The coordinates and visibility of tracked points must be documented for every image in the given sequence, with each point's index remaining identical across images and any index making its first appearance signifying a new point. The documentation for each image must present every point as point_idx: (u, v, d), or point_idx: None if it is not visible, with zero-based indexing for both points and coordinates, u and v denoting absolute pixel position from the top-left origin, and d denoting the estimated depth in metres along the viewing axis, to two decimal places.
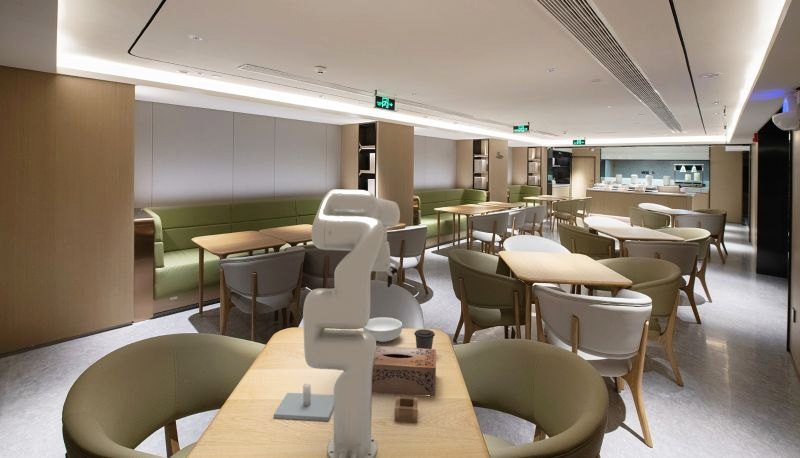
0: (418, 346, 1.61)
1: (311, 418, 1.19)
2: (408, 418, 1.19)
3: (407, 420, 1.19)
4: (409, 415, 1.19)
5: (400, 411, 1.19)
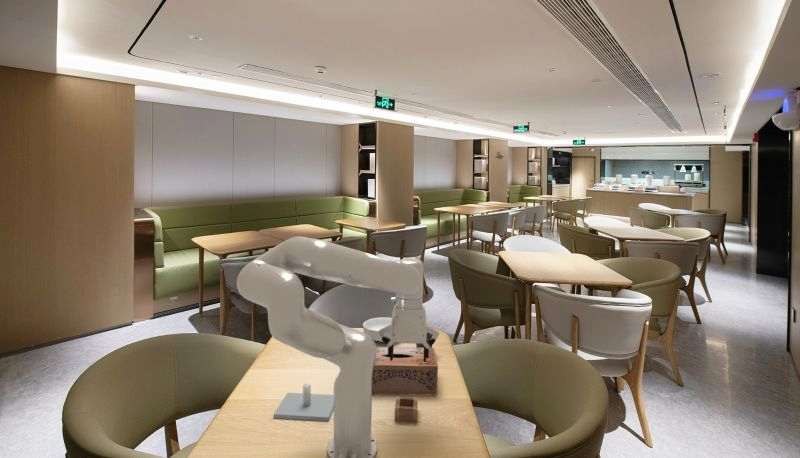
0: (418, 346, 1.61)
1: (311, 418, 1.19)
2: (408, 418, 1.19)
3: (407, 420, 1.19)
4: (409, 415, 1.19)
5: (400, 411, 1.19)
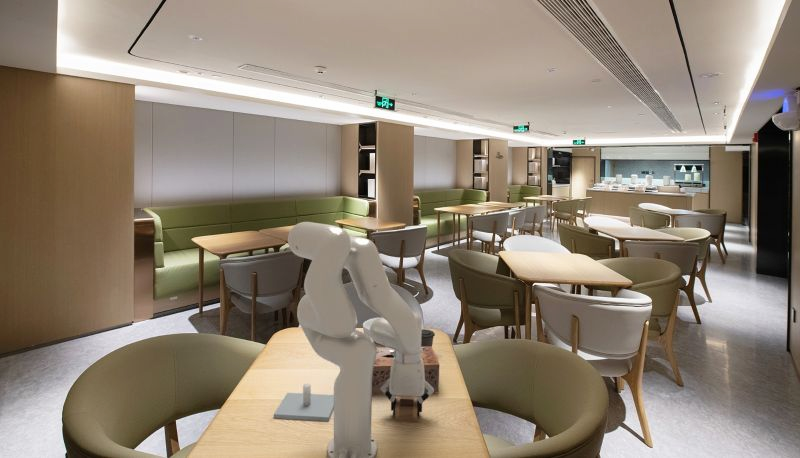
0: None
1: (311, 418, 1.19)
2: (408, 418, 1.19)
3: (407, 420, 1.19)
4: (409, 415, 1.19)
5: (400, 411, 1.19)
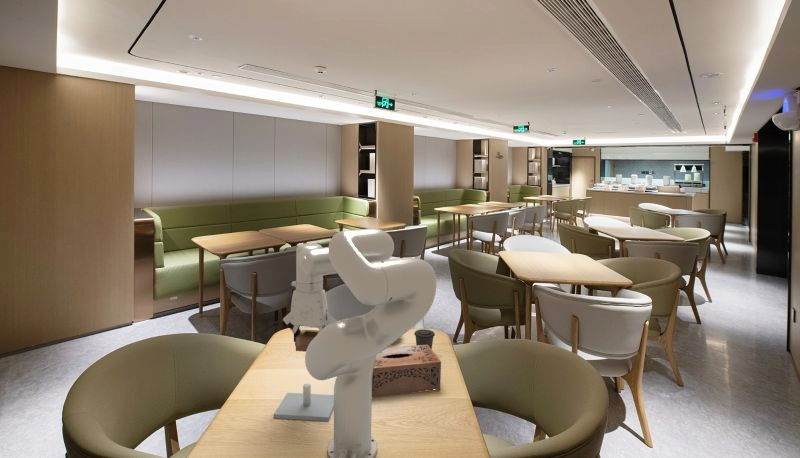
0: None
1: (311, 418, 1.19)
2: None
3: None
4: None
5: (300, 340, 1.19)
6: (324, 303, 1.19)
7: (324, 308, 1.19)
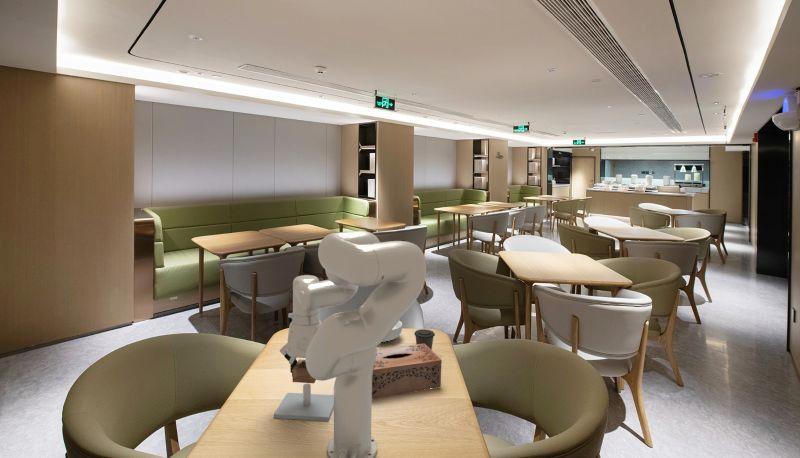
0: None
1: (311, 418, 1.19)
2: (305, 379, 1.21)
3: (304, 381, 1.21)
4: (306, 376, 1.21)
5: (297, 372, 1.21)
6: None
7: None
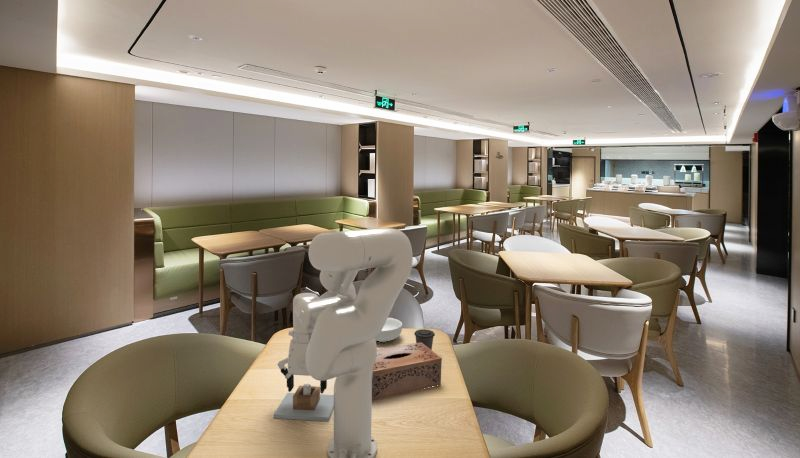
0: None
1: (311, 418, 1.19)
2: (306, 406, 1.21)
3: (305, 408, 1.22)
4: (307, 403, 1.21)
5: (297, 399, 1.21)
6: None
7: None
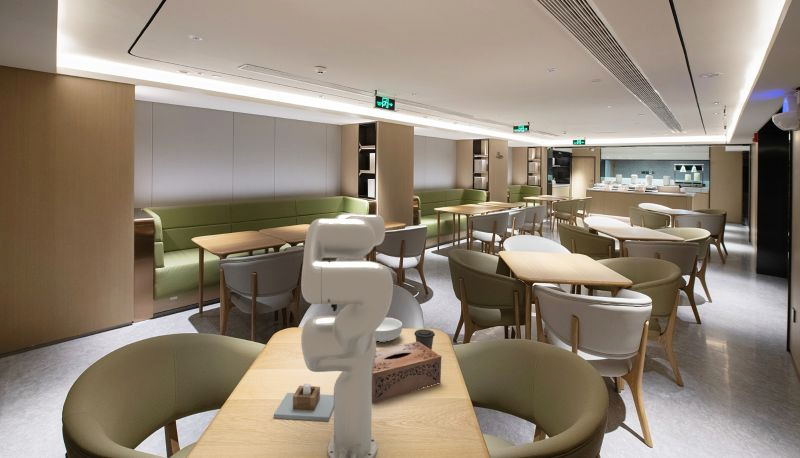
0: None
1: (311, 418, 1.19)
2: (306, 406, 1.21)
3: (305, 408, 1.22)
4: (307, 403, 1.21)
5: (297, 399, 1.21)
6: None
7: None
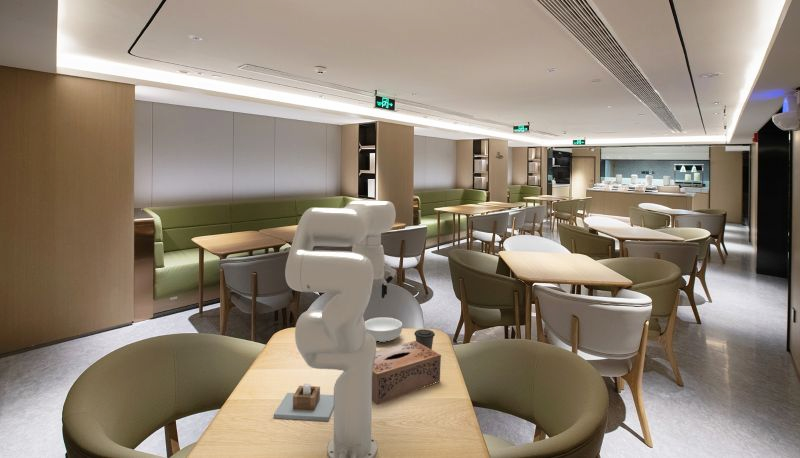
0: None
1: (311, 418, 1.19)
2: (306, 406, 1.21)
3: (305, 408, 1.22)
4: (307, 403, 1.21)
5: (297, 399, 1.21)
6: (383, 256, 1.23)
7: (383, 261, 1.23)
